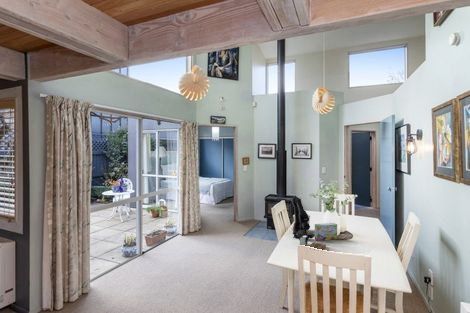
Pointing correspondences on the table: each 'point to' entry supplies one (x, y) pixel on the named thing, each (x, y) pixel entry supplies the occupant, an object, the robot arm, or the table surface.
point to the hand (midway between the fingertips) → (303, 243)
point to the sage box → (303, 241)
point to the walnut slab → (318, 245)
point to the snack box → (325, 231)
